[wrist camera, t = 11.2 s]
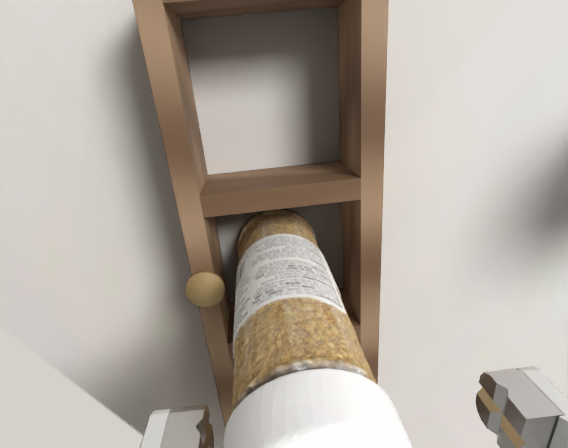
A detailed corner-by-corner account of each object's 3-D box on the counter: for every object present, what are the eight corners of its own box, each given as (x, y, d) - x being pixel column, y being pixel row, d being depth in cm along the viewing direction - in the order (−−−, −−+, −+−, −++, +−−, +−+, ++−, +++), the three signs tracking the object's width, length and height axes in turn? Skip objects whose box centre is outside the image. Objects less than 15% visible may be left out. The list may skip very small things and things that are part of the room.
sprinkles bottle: (298, 286, 21) (372, 580, 9) (225, 266, 20) (192, 566, 8) (328, 219, 20) (469, 460, 7) (251, 194, 19) (261, 424, 6)
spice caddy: (359, 392, 25) (377, 442, 22) (228, 411, 24) (225, 467, 21) (359, -22, 15) (393, -52, 12) (142, -6, 15) (110, -32, 11)
